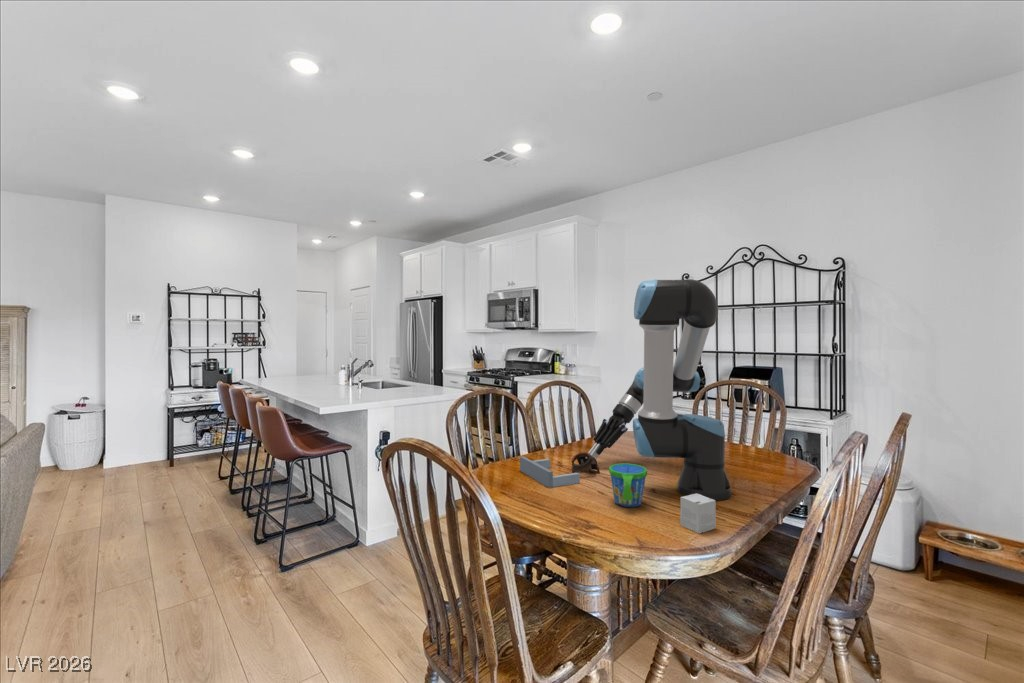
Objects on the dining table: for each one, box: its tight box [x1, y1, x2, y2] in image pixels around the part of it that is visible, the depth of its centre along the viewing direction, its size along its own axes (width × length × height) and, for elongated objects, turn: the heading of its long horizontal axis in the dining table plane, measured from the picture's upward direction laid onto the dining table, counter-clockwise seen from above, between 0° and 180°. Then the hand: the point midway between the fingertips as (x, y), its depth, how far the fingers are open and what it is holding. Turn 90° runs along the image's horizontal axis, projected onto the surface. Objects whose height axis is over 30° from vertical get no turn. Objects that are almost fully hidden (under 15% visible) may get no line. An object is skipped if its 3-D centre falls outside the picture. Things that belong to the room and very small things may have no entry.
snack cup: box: [608, 462, 648, 508], centre depth 136 cm, size 16×10×10 cm
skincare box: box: [679, 493, 717, 534], centre depth 120 cm, size 6×6×7 cm
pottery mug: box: [570, 451, 601, 474], centre depth 167 cm, size 12×10×8 cm
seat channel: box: [519, 456, 581, 489], centre depth 163 cm, size 12×21×5 cm, turn 25°
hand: (589, 459), depth 172 cm, fingers closed
